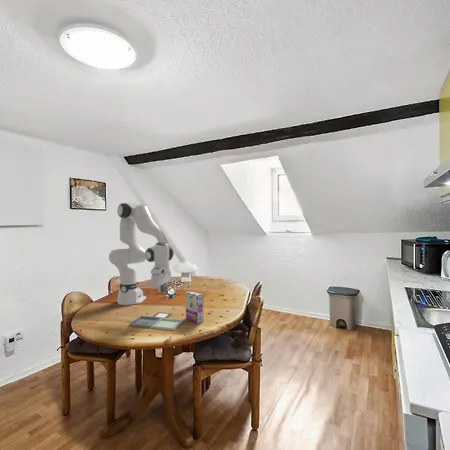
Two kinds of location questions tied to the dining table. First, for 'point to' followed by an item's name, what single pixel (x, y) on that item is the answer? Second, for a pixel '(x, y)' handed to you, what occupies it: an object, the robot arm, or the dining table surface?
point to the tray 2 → (167, 324)
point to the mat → (162, 315)
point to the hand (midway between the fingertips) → (162, 291)
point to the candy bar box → (194, 306)
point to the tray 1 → (144, 321)
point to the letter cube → (163, 290)
